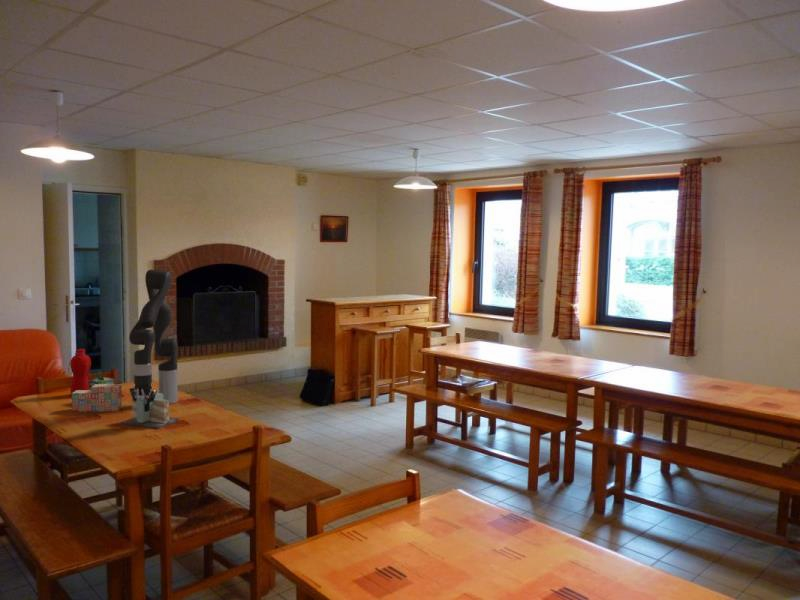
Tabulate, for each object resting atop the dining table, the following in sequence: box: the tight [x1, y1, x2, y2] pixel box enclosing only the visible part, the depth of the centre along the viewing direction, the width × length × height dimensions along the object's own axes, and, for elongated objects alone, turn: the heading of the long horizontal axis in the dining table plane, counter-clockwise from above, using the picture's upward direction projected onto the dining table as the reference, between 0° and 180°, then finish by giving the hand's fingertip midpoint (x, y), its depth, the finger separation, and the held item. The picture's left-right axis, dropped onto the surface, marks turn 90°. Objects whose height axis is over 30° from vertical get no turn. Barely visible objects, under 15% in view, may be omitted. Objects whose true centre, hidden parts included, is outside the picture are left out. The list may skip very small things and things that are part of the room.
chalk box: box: [88, 372, 115, 390], centre depth 320 cm, size 9×9×15 cm
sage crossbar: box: [137, 392, 163, 423], centre depth 284 cm, size 14×3×10 cm, turn 161°
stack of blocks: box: [71, 383, 123, 412], centre depth 304 cm, size 21×6×12 cm, turn 96°
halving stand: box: [121, 397, 180, 430], centre depth 285 cm, size 14×20×11 cm
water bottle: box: [67, 348, 92, 397], centre depth 331 cm, size 9×11×25 cm
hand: (143, 410), depth 280 cm, fingers closed on sage crossbar, 3 cm apart
